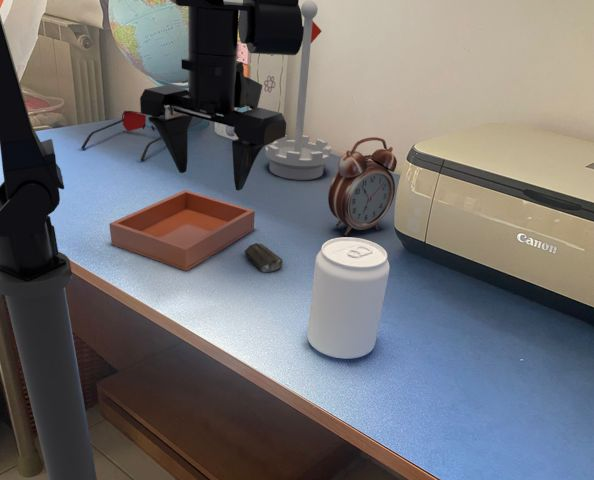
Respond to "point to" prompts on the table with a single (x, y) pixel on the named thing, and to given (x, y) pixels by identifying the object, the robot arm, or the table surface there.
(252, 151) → the robot arm
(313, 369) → the table surface
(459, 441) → the table surface
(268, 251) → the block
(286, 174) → the flag stand
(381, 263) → the beverage can
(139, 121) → the glasses
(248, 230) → the desk tray
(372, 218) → the alarm clock
